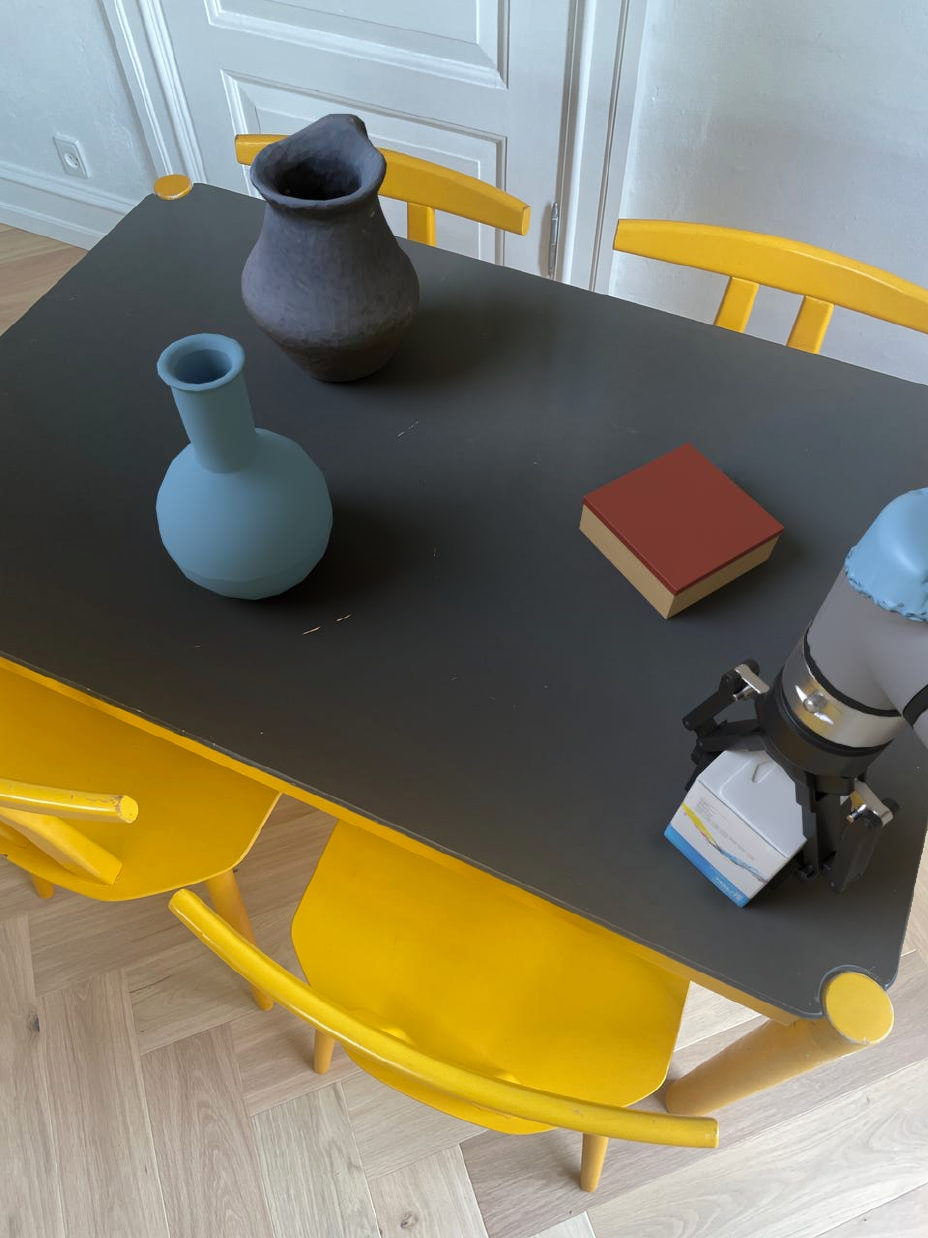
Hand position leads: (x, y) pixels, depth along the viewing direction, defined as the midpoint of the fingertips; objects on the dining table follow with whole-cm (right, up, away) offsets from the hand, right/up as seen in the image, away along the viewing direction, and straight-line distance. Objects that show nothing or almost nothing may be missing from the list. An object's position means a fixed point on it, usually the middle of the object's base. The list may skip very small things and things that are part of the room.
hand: (739, 830), depth 70 cm
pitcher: (-38, +51, +37) cm, 73 cm away
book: (-1, +25, +20) cm, 32 cm away
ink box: (0, -1, +2) cm, 2 cm away
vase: (-44, +24, +18) cm, 53 cm away
